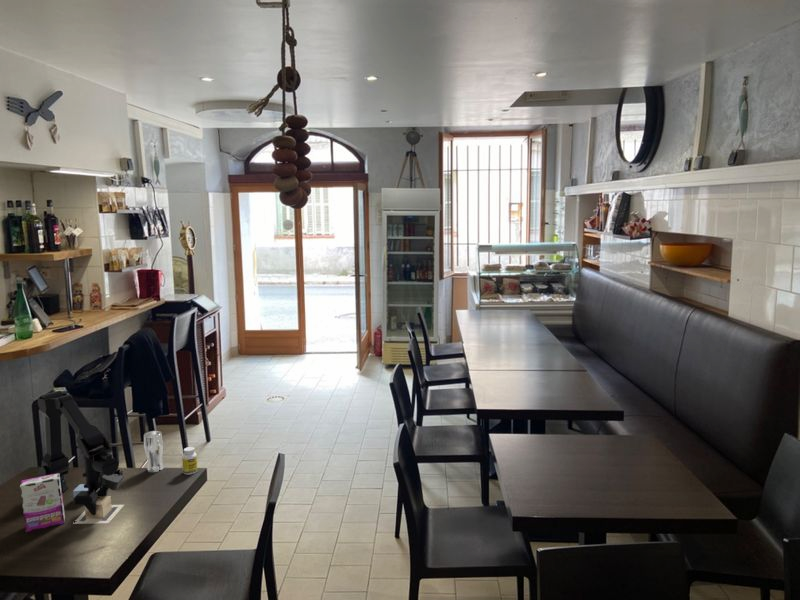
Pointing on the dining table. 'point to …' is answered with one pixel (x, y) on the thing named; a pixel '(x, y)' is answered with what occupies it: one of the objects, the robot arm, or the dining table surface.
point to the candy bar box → (42, 502)
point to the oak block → (100, 508)
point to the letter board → (106, 519)
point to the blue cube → (79, 489)
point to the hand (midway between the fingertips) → (98, 510)
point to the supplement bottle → (189, 461)
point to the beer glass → (154, 450)
